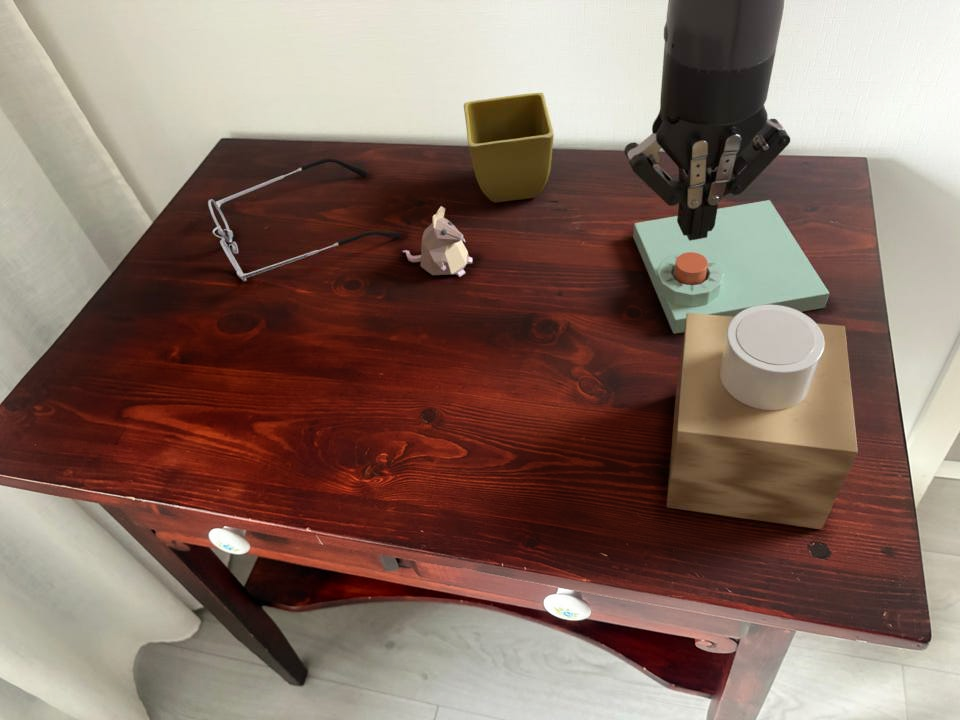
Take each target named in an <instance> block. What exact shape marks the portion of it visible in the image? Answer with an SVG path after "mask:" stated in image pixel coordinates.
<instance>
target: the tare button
mask: <svg viewBox="0 0 960 720" xmlns="http://www.w3.org/2000/svg"><path fill="white" fill-rule="evenodd" d="M707 266H708V261H707V259H706V258H705V257H704V256H703V255H701V254H698V253H694V252H688V253H684V254H681V255H680V256H679V257H678V258H677V259H676V263H675V272H674V276H675V278H676V280H677V281H678V282H680V283H682V284H686V285H697V284H700V283H702V282H703V281H704V280H705V278H706V273H707Z"/></svg>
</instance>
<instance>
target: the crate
mask: <svg viewBox="0 0 960 720" xmlns="http://www.w3.org/2000/svg"><path fill="white" fill-rule="evenodd" d="M733 318H734V317H731V316H719V315H707V314H695V313H687V316H686V323H685V331H684V332H683V340H682V346H681V354H680V361H679V369H678V370H679V371H678V377H677V385H676V392H675V401H674V413H673V424H672V438H671V449H670V461H669V472H668V485H667V496H666V508H668V509H676V510H683V511H690V512H696V513H704V514H710V515H717V516H725V517H730V518H738V519H745V520H753V521H759V522H766V523H767V522H768V523H774V524H781V525H787V526H794V527H800V528H801V527H802V528H808V529H816V530H822V529H823V528H824V526H825V523H826V521H827V519H828V517H829V515H830V513H831V510H832V508H833V506H834V505H835V502H836V500H837V498H838V495H839V494H840V492H841V489H842V487H843V485H844V483H845V481H846V478H847V476H848V475H849V472H850V470H851V468H852V465H853V463H854V462H855V460H856V457H857V455H858V453H859V449H858V440H857V430H856V420H855V411H854V402H853V401H854V400H853V391H852V381H851V371H850V361H849V352H848V342H847V332H846V326H845V325H837V324H826V323H816V324H817V325H818V326H819V328H820V329H821V331H822V333H823V336H824V341H825V347H824V351H823V354H822V357H821V360H820V363H819V366H818V369H817V372H816V375H815V377H814V380H813V383H812V386H811V389H810V391H809V393H808V395H807V396H806V397H805V398H804V399H803V400H802V401H801V402H800V403H798V404H797V405H795V406H793V407H790V408H787V409H782V410H762V409H757V408H753V407H750V406H748V405H745V404H743V403H741V402H740V401H738V400H737V399H735V398H734V397H733V396H732V395H730V393H729V392H728V391H727V390H726V389H725V387H724V385H723V384H722V381H721V378H720V365H721V360H722V355H723V349H724V344H725V339H726V334H727V329H728V326H729V323H730V322H731V320H732V319H733Z"/></svg>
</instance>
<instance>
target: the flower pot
mask: <svg viewBox="0 0 960 720" xmlns="http://www.w3.org/2000/svg"><path fill="white" fill-rule="evenodd" d="M463 111H464V118H465V119H464V120H465V127H466V137H467V146H468V151H469V154H470V158H471V163H472V167H473V171H474V175H475V178H476V181H477V183H478V186H479V188H480V190H481V191H482V193H483V194H484V196H485V197H487V198H488V200H490V201H491V202H492V203H502V202H511V201H518V200H527V199H528V200H529V199H534V198H537V197H538V196H539V195H540V193H542V191H543V190H544V188H545V186H546V184H547V182H548V181H549V177H550V173H551V167H552V158H553V147H554V137H555V134H554V133H555V132H554V129H553V125H552V121H551V118H550V114H549V109H548V105H547V101H546V97H545V95H544V93H543V92H529V93H522V94H515V95H507V96H499V97H493V98H485V99H478V100H472V101H467V102H464V103H463Z"/></svg>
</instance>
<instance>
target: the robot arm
mask: <svg viewBox="0 0 960 720" xmlns="http://www.w3.org/2000/svg"><path fill="white" fill-rule="evenodd" d="M784 8H785V0H668V2H667V10H666V17H665V18H666V21H665V24H664V26H663V40H664V44H663V45H664V46H663V59H662V72H661V87H660V98H659V99H660V100H659V101H660V103H659V107H660V108H659V111H658V114H657V116H656V118H655V119H654V120H653V123H652V125H651V134H650V135H649V136H648V137H646V138H645V139H644V140H643V141H641V142H640V143H639V144H638V143H637V142H629V143H628V144H626V145H625V147H624V150H623V151H624V154H625V156H626V158H627V161H628V163H629V165H630V168H631V170H632V172H634V174H636V175H637V177H639V179H641V180H642V181H643V182H644V183H645V184H646V185H647V186H648V187H649V188H650V189H651V190H652V191H653V192H654V193H655V194H656V195H657V196H658V197H659V198H660V199H661V200H662V201H663V202H664V203H665V204H666V205H668V206H671V207H673V206H676V205H678V210H677V216H678V217H677V222H678V225H679V227H680V229H681V231H682V233H683V235H684V236H685V235H687V237H688V239H689V241H691V240H697V239H702V238H707V235H708V231H712V230H713V228H714V226H715V220H716V215H717V209H719V208H718V207H719V204H720V203H721V202H722V200H723V198H724V197H725V196H727V195H730V194H731V195H733V196H739V195H741V194H742V193H743V192H744V191H745V190H746V189H747V188H748V187H749V186H750V185H751V184H752V183H753V182H754V181H755V180H756V179H757V178H758V176H759V175H761V174H762V173H763V171H764V170H766V168H767V167H768V166H770V164H772V162H773V161H774V160H775V159H776V158H777V157H778V156H779V155H780V154H781V153H782V152H783V151H784V150H785V149H786V148H787V147H788V146H789V145H790V143H791V137H790V135H789V134H788V133H787V131H786V129H785V128H784V127H783V125H782V124H781V123H780V122H779V121H778V119H776V118H770V119H769V118H768V112H767V109H766V107H765V104H766V101H767V98H768V95H769V89H770V83H771V77H772V72H773V68H774V63H775V62H774V61H775V57H776V52H777V45H778V41H779V36H780V32H781V31H780V30H781V26H782V21H783V16H784V15H783V14H784ZM661 149H662V150H663V151H664V152H665V154H666V155H667V156H668V157H669V159H671V161H672V162H673V163H674V164H675V165H676V166H677V169H678V180H675V179H673V178H672V177H671V176H670V175H669V174H668V172H666V170H664V169H663V168H662V166H661V165H660V163H661V160H662V159H661V156H660V150H661Z"/></svg>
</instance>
